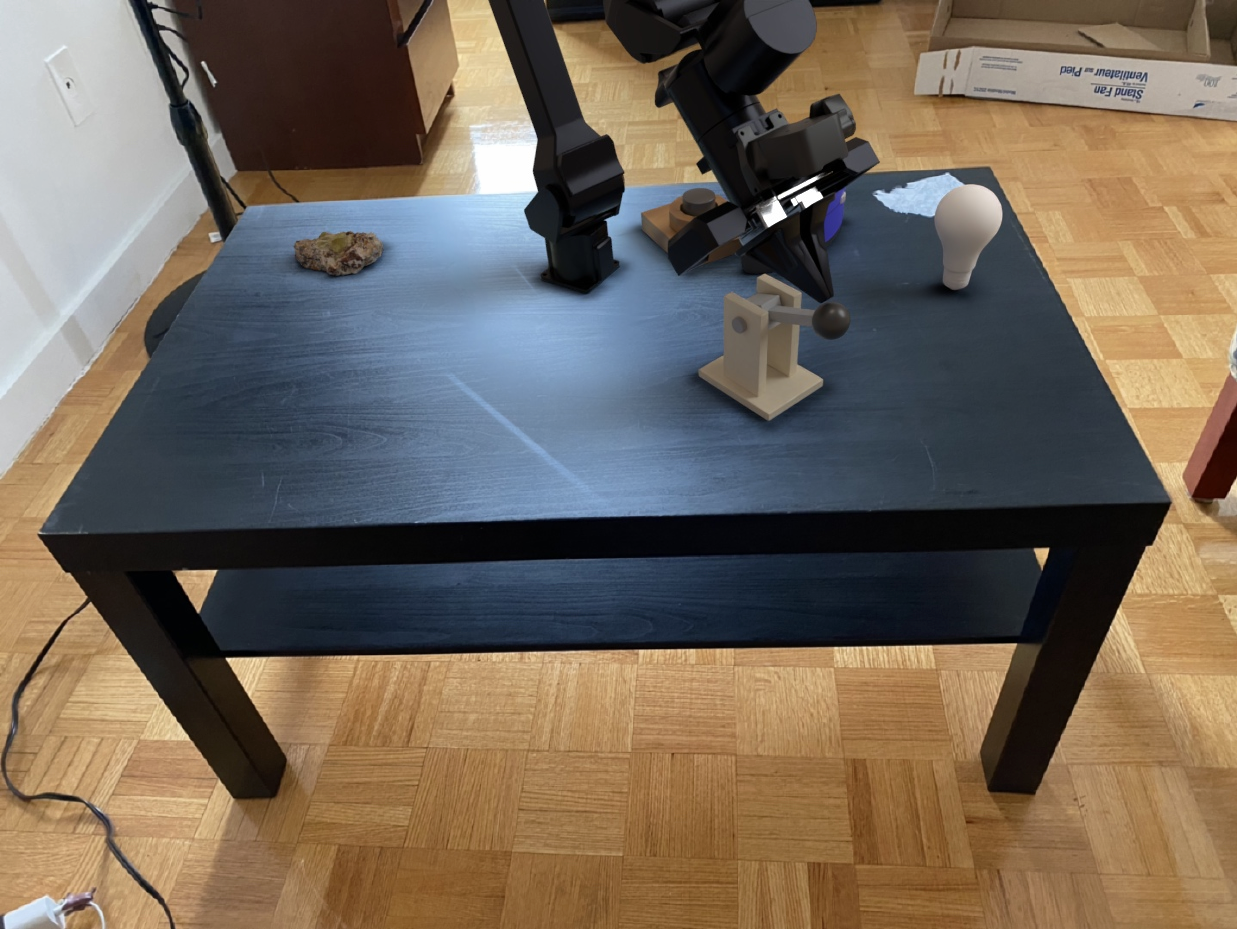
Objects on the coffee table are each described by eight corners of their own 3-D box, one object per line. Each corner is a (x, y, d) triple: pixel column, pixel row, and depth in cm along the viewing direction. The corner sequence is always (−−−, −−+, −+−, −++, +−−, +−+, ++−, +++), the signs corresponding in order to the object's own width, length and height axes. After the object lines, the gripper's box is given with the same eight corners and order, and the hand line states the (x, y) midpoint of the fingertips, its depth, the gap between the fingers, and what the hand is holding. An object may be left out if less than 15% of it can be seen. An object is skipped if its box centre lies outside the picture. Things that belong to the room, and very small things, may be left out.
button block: (641, 229, 110) (639, 198, 107) (709, 208, 112) (709, 176, 110) (688, 273, 102) (687, 240, 100) (760, 248, 105) (761, 216, 102)
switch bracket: (822, 389, 87) (830, 298, 80) (768, 424, 84) (772, 333, 77) (751, 347, 92) (753, 259, 85) (698, 379, 89) (696, 290, 82)
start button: (676, 208, 106) (676, 193, 104) (704, 199, 107) (704, 184, 105) (692, 221, 103) (692, 207, 102) (721, 212, 104) (721, 197, 103)
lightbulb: (987, 275, 98) (1010, 175, 90) (983, 308, 94) (1006, 207, 86) (926, 269, 99) (942, 170, 92) (919, 301, 95) (936, 200, 88)
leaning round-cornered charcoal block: (770, 290, 99) (773, 207, 92) (736, 275, 101) (737, 193, 95) (864, 228, 106) (873, 147, 100) (830, 215, 109) (837, 136, 102)
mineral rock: (391, 219, 111) (367, 237, 104) (398, 256, 113) (374, 276, 106) (305, 223, 113) (275, 241, 106) (313, 260, 115) (284, 279, 108)
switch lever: (861, 332, 76) (854, 297, 75) (835, 348, 75) (828, 313, 73) (766, 319, 85) (759, 287, 83) (742, 333, 83) (734, 301, 82)
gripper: (687, 111, 63) (803, 317, 64) (873, 31, 71) (974, 215, 72) (621, 184, 73) (722, 361, 74) (790, 107, 81) (880, 267, 82)
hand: (827, 300), depth 75 cm, fingers closed
